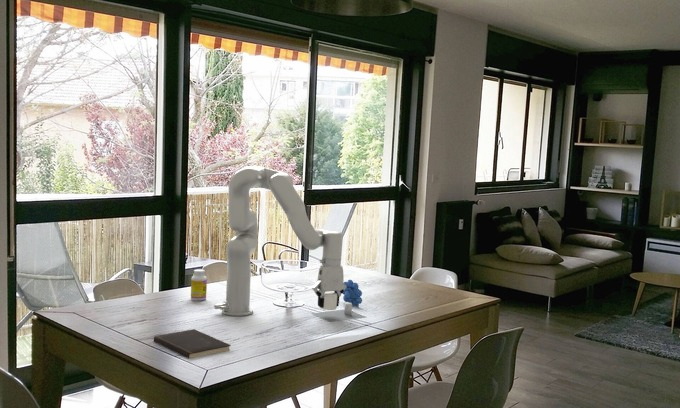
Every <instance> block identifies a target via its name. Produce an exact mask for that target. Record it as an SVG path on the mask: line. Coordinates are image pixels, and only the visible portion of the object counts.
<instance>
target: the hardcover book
mask: <svg viewBox="0 0 680 408" xmlns="http://www.w3.org/2000/svg"><path fill="white" fill-rule="evenodd" d="M153 342H155V343H156V344H159V345H161V346H163V347H164V348H166V349H169V350H170V351H173V352H174V353H177V354H179V355H180V356H183V357H185V358H187V359H194V358H196V357H197V358H198V357H203V356H207V355H211V354H217V353H221V352H225V351H230V347H231V344H229V343H227V342H224V341H222V340H220V339H217V338H215V337H213V336H210V335H209V334H206V333H204V332H201V331H199V330H197V329H195V328H193V329H188V330H182V331H177V332H176V331H175V332H169V333H165V334H159V335H155V336H154V337H153Z"/></svg>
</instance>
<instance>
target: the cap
mask: <svg viewBox="0 0 680 408" xmlns="http://www.w3.org/2000/svg"><path fill="white" fill-rule="evenodd" d="M323 298H324V307H323V308H321V307H319V309H321V310H324V311H336V310H337V308H338V306H337V293H335V292H334V291H328V292H325V294H324V296H323Z"/></svg>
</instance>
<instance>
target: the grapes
mask: <svg viewBox="0 0 680 408" xmlns="http://www.w3.org/2000/svg"><path fill="white" fill-rule="evenodd" d="M343 283H344V284H345V285H346V286H347V287H346V289H345V290H344V291H343V293H342V294H341V295H343V297H342V298H343V301H344V302H345V303H352V307H353V306H354V307H356V308H359V306H360V305H361V304H362V303H363V298H362V295H363V292H362V290H361V289H360V287H359V283H357V282H354V281H353V280H352V279H347V281H344V282H343Z"/></svg>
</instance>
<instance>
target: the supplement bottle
mask: <svg viewBox="0 0 680 408" xmlns="http://www.w3.org/2000/svg"><path fill="white" fill-rule="evenodd" d="M193 274H194V275H192V276H191V279H190V283H191V284H190V300H192V301H199V302H201V301H205V300H207V291H208V290H207V289H208V288H207V287H208V283H207V282H208V278H207V276H206V275H205V274H206V270H205V269H199V268H198V269H194V270H193Z"/></svg>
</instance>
